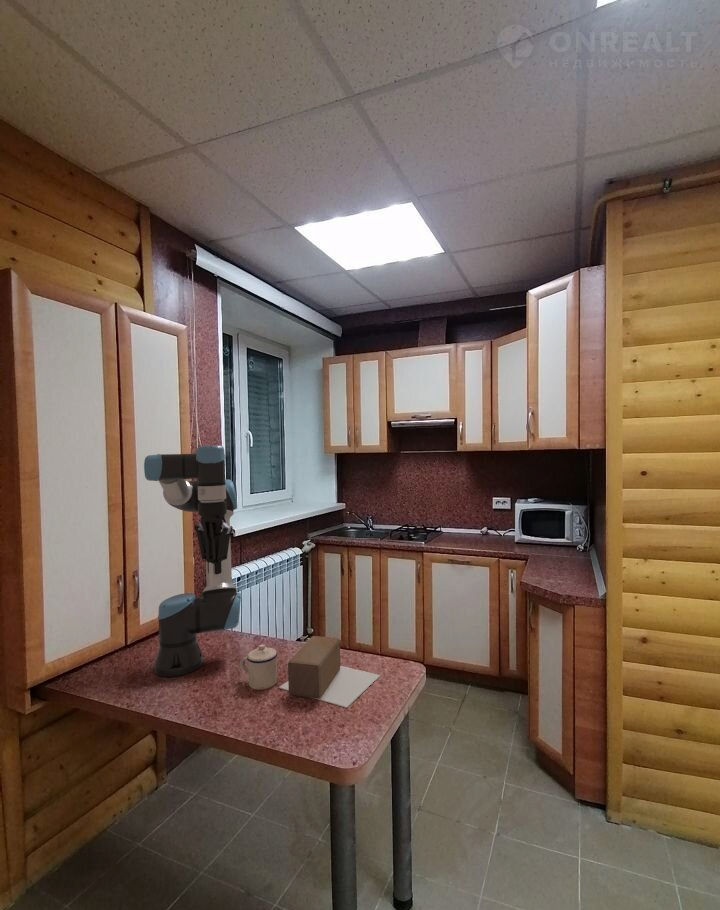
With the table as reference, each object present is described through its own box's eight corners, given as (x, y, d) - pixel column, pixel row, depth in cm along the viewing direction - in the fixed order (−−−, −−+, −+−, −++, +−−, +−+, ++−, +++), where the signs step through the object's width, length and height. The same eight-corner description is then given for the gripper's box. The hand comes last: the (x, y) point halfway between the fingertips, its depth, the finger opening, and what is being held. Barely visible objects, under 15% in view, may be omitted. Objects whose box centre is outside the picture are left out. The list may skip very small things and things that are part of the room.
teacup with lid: (283, 678, 144) (282, 641, 144) (267, 692, 135) (266, 653, 135) (250, 672, 148) (249, 637, 148) (233, 686, 140) (232, 648, 140)
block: (318, 664, 130) (340, 636, 149) (286, 661, 132) (311, 634, 152) (319, 700, 130) (341, 667, 149) (287, 696, 133) (312, 664, 152)
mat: (279, 688, 138) (278, 687, 138) (317, 660, 155) (317, 660, 155) (346, 708, 126) (346, 707, 126) (380, 676, 143) (380, 675, 143)
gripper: (185, 501, 128) (188, 586, 128) (218, 502, 121) (221, 591, 121) (206, 498, 134) (209, 579, 134) (239, 499, 128) (242, 584, 128)
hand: (215, 585), depth 128 cm, fingers closed
